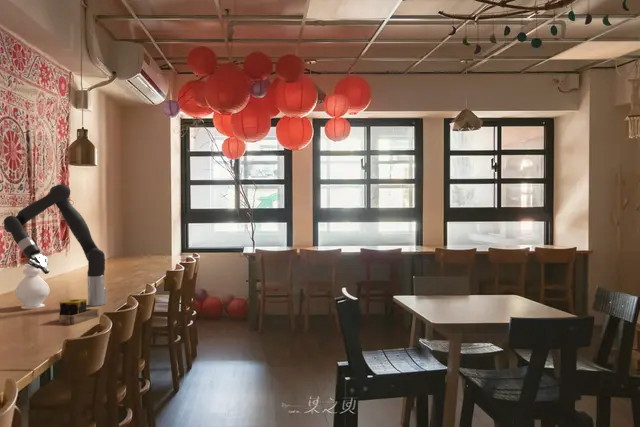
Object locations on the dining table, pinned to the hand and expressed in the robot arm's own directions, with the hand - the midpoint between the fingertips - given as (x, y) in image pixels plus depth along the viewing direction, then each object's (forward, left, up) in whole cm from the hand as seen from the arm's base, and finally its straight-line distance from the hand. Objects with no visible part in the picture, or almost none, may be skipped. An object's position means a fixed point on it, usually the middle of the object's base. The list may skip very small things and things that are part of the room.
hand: (47, 272), depth 302 cm
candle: (-2, +18, -24) cm, 30 cm away
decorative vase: (-13, -35, -24) cm, 44 cm away
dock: (-3, +22, -24) cm, 32 cm away
